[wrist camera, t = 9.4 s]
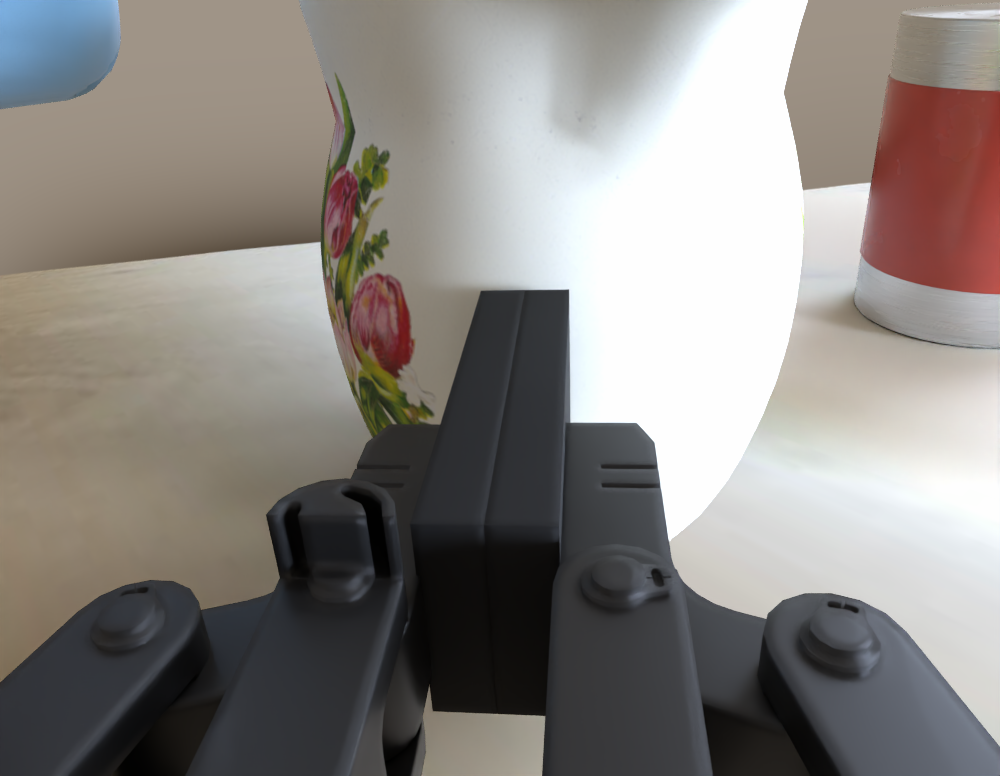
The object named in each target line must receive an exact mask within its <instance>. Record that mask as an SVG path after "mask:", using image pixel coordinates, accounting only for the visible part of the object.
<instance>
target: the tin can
mask: <svg viewBox="0 0 1000 776" xmlns="http://www.w3.org/2000/svg"><path fill="white" fill-rule="evenodd" d="M860 252H861V259H860V265H859V271H858V277H857V284H856V290H855V296H854V301H855V305H856V307H857V308H858V310H859V311H860V312H861V313H862V314H863V315H864V316H866V317H867V318H868V319H870V320H871V321H873V322H875V323H877V324H879V325H881V326H883V327H885V328H887V329H890V330H892V331H895V332H898V333H901V334H904V335H907V336H910V337H914V338H918V339H922V340H927V341H931V342H936V343H942V344H948V345H956V346H964V347H977V348H1000V3H982V4H963V5H947V6H934V7H924V8H917V9H910V10H906V11H904V12H902V13H901V14H900V18H899V24H898V30H897V36H896V43H895V48H894V55H893V62H892V67H891V73H890V75H889V76H888V81H887V87H886V93H885V100H884V106H883V112H882V118H881V124H880V131H879V137H878V143H877V149H876V156H875V162H874V169H873V174H872V181H871V187H870V193H869V199H868V205H867V212H866V218H865V224H864V230H863V236H862V243H861V249H860Z"/></svg>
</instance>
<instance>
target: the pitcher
mask: <svg viewBox="0 0 1000 776" xmlns="http://www.w3.org/2000/svg"><path fill="white" fill-rule="evenodd" d="M807 1H808V0H299V3H300V6H301V10H302V13H303V16H304V19H305V22H306V24H307V27H308V30H309V33H310V36H311V39H312V42H313V45H314V48H315V51H316V54H317V57H318V59H319V63H320V66H321V69H322V72H323V76H324V79H325V83H326V86H327V89H328V93H329V97H330V101H331V104H332V108H333V112H334V116H335V119H336V123H335V129H334V134H333V139H332V144H331V149H330V155H329V160H328V165H327V170H326V178H325V179H326V180H325V187H324V196H323V204H322V214H321V255H322V268H323V280H324V286H325V292H326V298H327V304H328V310H329V315H330V319H331V323H332V327H333V331H334V335H335V340H336V344H337V348H338V351H339V354H340V357H341V360H342V363H343V366H344V369H345V372H346V375H347V378H348V381H349V384H350V387H351V390H352V393H353V396H354V398H355V400H356V403H357V405H358V407H359V409H360V412H361V414H362V416H363V419H364V421H365V423H366V425H367V428H368V429H369V431H370V433H371V435H372V437H374V436H376V435H377V434H378V433H379V432H380V431H382V430H383V429H384V428H385V427H386V426H388V425H389V424H441V420H442V417H443V414H444V410H445V407H446V404H447V401H448V397H449V394H450V391H451V387H452V384H453V381H454V378H455V374H456V371H457V368H458V364H459V361H460V358H461V355H462V351H463V348H464V345H465V341H466V338H467V335H468V332H469V328H470V325H471V322H472V318H473V315H474V312H475V308H476V305H477V302H478V299H479V295H480V292H481V291H486V290H566V289H569V320H570V423H637V424H638V425H639V426H640V427H641V428H642V429H643V430H644V431H645V432H646V433H647V434H648V436H649V437H650V438H651V439H652V440H653V441H654V442H655V448H656V455H657V462H658V469H659V476H660V483H661V490H662V497H663V504H664V510H665V517H666V524H667V531H668V538H669V541H670V540H671V539H672V538H673V537H674V536H676V535H677V534H678V533H679V532H680V531H682V530H683V529H684V528H685V527H686V526H688V525H689V524H690V523H691V522H692V521H693V520H694V519H696V518H697V517H698V516H699V515H700V514H701V513H702V512H703V511H704V509H705V508H706V507H707V506H708V504H709V503H710V502H711V501H712V499H713V498H714V497H715V496H716V494H717V493H718V492H719V491H720V489H721V488H722V487H723V485H724V484H725V483H726V481H727V480H728V478H729V476H730V475H731V473H732V472H733V470H734V468H735V467H736V465H737V463H738V462H739V460H740V459H741V457H742V455H743V453H744V451H745V449H746V447H747V445H748V443H749V441H750V439H751V437H752V435H753V433H754V431H755V429H756V427H757V425H758V423H759V421H760V419H761V417H762V415H763V412H764V410H765V407H766V405H767V403H768V400H769V398H770V395H771V393H772V390H773V388H774V385H775V383H776V381H777V377H778V374H779V371H780V367H781V364H782V361H783V357H784V354H785V351H786V347H787V344H788V340H789V335H790V330H791V325H792V321H793V316H794V311H795V307H796V300H797V293H798V286H799V278H800V271H801V263H802V251H803V231H804V214H803V193H802V185H801V178H800V172H799V165H798V158H797V152H796V147H795V142H794V138H793V133H792V129H791V125H790V120H789V116H788V111H787V107H786V102H785V98H784V93H783V91H784V87H785V83H786V79H787V74H788V70H789V66H790V61H791V57H792V53H793V50H794V45H795V42H796V38H797V34H798V30H799V27H800V24H801V20H802V17H803V14H804V11H805V7H806V4H807Z"/></svg>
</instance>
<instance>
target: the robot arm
mask: <svg viewBox="0 0 1000 776" xmlns="http://www.w3.org/2000/svg"><path fill="white" fill-rule="evenodd" d="M120 39H121V36H120V20H119V10H118V1H117V0H0V109H6V108H13V107H20V106H27V105H35V104H43V103H51V102H58V101H66V100H70V99H73V98H76V97H78V96H81V95H84V94H86V93H88V92H89V91H91V90H93V89H94V88H95V87H96V86H97V85H98V84H99V83H100V82H101V81H102V80H103V79H104V78H105V76H106V75H107V74H108V73H109V72H110V71H111V70H112V68H113V66H114V63H115V61H116V58H117V56H118V52H119V47H120ZM266 517H267V521H268V526H269V530H270V535H271V539H272V544H273V548H274V553H275V557H276V562H277V566H278V571H279V575H280V579H279V581H278V584H277V586H276V588H275V590H274V592H272V593H270V594H267V595H265V596H262V597H258V598H255V599H251V600H248V601H243V602H238V603H234V604H229V605H224V606H219V607H214V608H209V609H205V610H201V609H200V605H199V602H198V600H197V599H196V597H195V596H194V594H193V593H192V591H191V590H190V589H189V588H187V587H185V586H183V585H180V584H178V583H176V582H174V581H158V580H149V581H144V582H139V583H134V584H129V585H125V586H122V587H120V588H118V589H115V590H113V591H111V592H108V593H106V594H104V595H101V596H99V597H98V598H97V599H95V600H94V601H92V602H91V603H90V604H88V605H87V606H85V607H84V608H82V609H81V610H80V611H78V612H77V613H76V614H75V615H74V616H73V617H72V618H71V619H69V620H68V621H67V622H66V623H65V624H64V625H63V626H62V627H61V628H60V629H58V630H57V631H56V632H55V633H54V634H53V635H52V636H51V637H50V638H49V639H47V640H46V641H45V642H44V643H43V644H42V645H41V646H40V647H39V648H38V649H37V650H35V651H34V652H33V653H32V654H31V655H30V656H29V657H28V658H27V659H26V660H24V661H23V662H22V663H21V664H20V665H19V666H18V667H17V668H16V669H15V670H13V671H12V672H11V673H10V674H9V675H8V676H7V677H6V678H5V679H4V680H2V681H1V682H0V776H421V774H422V769H423V764H424V758H425V753H426V748H425V730H424V723H423V712H424V707H425V702H426V698H427V693H428V688H429V684H430V691H431V700H432V708H433V711H441V712H465V713H490V714H514V715H539V716H546V717H545V735H544V753H543V771H542V776H1000V747H999V745H998V744H997V743H996V742H995V740H994V739H993V738H992V737H991V735H990V734H989V733H988V732H987V730H986V729H985V728H984V727H983V726H982V724H981V723H980V722H979V721H978V719H977V718H976V717H975V716H974V714H973V713H972V712H971V711H970V710H969V708H968V707H967V706H966V705H965V703H964V702H963V701H962V700H961V698H960V697H959V696H958V695H957V694H956V692H955V691H954V690H953V689H952V687H951V686H950V685H949V684H948V682H947V681H946V680H945V679H944V677H943V676H942V675H941V674H940V673H939V671H938V670H937V669H936V668H935V666H934V665H933V664H932V663H931V661H930V660H929V659H928V658H927V657H926V655H925V654H924V653H923V652H922V650H921V649H920V648H919V647H918V645H917V644H916V643H915V642H914V641H913V639H912V638H911V637H910V636H909V634H908V633H907V632H906V631H905V630H904V629H903V628H902V627H900V626H899V625H898V624H897V623H896V622H895V621H894V620H893V619H892V618H890V617H889V616H888V615H887V614H886V613H884V612H882V611H880V610H878V609H876V608H874V607H872V606H870V605H868V604H866V603H864V602H862V601H860V600H856V599H852V598H848V597H844V596H840V595H836V594H832V593H808V594H802V595H798V596H795V597H792V598H789V599H786V600H783V601H782V602H780V603H779V604H778V605H777V606H776V607H775V608H774V609H773V610H772V611H771V612H769V613H768V616H767V619H764V618H760V617H756V616H752V615H748V614H745V613H741V612H737V611H733V610H731V609H728V608H725V607H722V606H719V605H716V604H714V603H712V602H710V601H709V600H707V599H705V598H703V597H701V596H700V595H698V594H697V593H695V592H694V591H693V590H692V589H691V588H689V587H688V586H687V585H686V584H685V583H684V582H683V581H682V579H681V578H680V576H679V574H678V572H677V570H676V569H675V568H674V565H673V562H672V559H671V552H670V545H669V538H668V531H667V524H666V517H665V510H664V504H663V497H662V490H661V483H660V476H659V469H658V462H657V455H656V448H655V442H654V441H653V440H652V439H651V438H650V437H649V436H648V434H647V433H646V432H645V431H644V430H643V429H642V428H641V427H640V426H639V425H638V424H637V423H570V320H569V289H566V290H486V291H481V292H480V295H479V299H478V302H477V305H476V308H475V312H474V315H473V318H472V322H471V325H470V328H469V332H468V335H467V338H466V341H465V345H464V348H463V351H462V355H461V358H460V361H459V364H458V368H457V371H456V374H455V378H454V381H453V384H452V387H451V391H450V394H449V397H448V401H447V404H446V407H445V410H444V414H443V417H442V420H441V424H389V425H388V426H386V427H385V428H384V429H383V430H382V431H380V432H379V433H378V434H377V435H376V436H374V437H373V438H372V439H371V440H370V441H368V442H367V443H366V446H365V448H364V450H363V452H362V455H361V457H360V459H359V462H358V464H357V469H355V471H354V473H353V475H352V477H351V479H336V480H326V481H320V482H317V483H314V484H311V485H308V486H304V487H301V488H298V489H297V490H295V491H293V492H292V493H290V494H288V495H287V496H285V497H283V498H282V499H280V500H279V501H278V502H277V503H276V504H275V505H274V506H273V507H272V509H271V510H270V511H269V512H268V513H267V514H266Z"/></svg>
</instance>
